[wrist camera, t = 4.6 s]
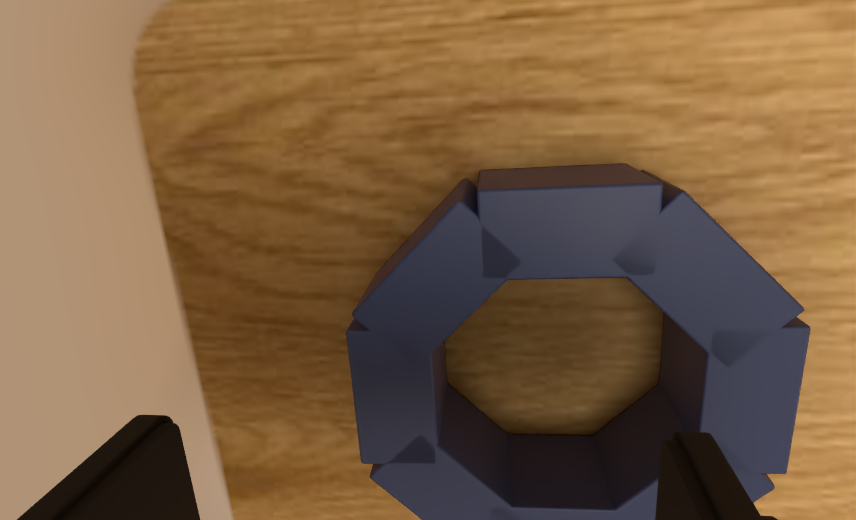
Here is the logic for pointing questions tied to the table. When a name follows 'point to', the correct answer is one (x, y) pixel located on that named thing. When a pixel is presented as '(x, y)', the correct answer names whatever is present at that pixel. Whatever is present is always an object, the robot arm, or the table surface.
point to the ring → (567, 259)
